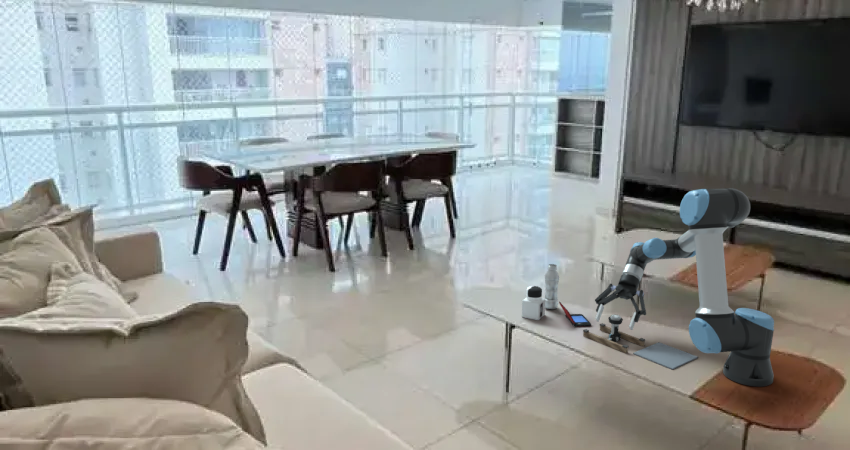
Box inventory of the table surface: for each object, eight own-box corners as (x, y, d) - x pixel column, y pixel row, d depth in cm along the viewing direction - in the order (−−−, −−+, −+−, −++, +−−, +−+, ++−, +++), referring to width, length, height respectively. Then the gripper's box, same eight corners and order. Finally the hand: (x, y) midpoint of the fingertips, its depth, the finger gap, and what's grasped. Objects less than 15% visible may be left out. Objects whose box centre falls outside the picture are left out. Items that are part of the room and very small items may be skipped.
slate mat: (697, 357, 221) (697, 356, 221) (672, 369, 212) (672, 368, 212) (658, 343, 234) (658, 342, 234) (633, 353, 225) (633, 352, 225)
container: (545, 314, 264) (546, 286, 261) (538, 320, 257) (539, 291, 255) (528, 311, 268) (529, 283, 265) (521, 317, 261) (522, 288, 259)
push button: (613, 345, 233) (615, 320, 231) (602, 340, 237) (603, 316, 235) (624, 340, 237) (625, 316, 235) (612, 336, 241) (614, 312, 239)
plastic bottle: (542, 310, 269) (544, 267, 265) (543, 305, 276) (545, 262, 271) (557, 311, 268) (559, 268, 263) (558, 306, 274) (560, 263, 270)
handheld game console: (592, 327, 251) (593, 310, 249) (566, 328, 250) (567, 311, 248) (582, 316, 263) (582, 299, 261) (557, 316, 262) (558, 300, 261)
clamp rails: (644, 345, 232) (645, 339, 232) (625, 353, 226) (625, 346, 225) (602, 329, 248) (602, 323, 247) (582, 336, 241) (583, 329, 241)
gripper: (664, 288, 239) (647, 336, 231) (603, 276, 254) (586, 320, 247) (660, 279, 234) (643, 327, 226) (599, 267, 249) (580, 312, 241)
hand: (613, 324), depth 236 cm, fingers open, 13 cm apart
